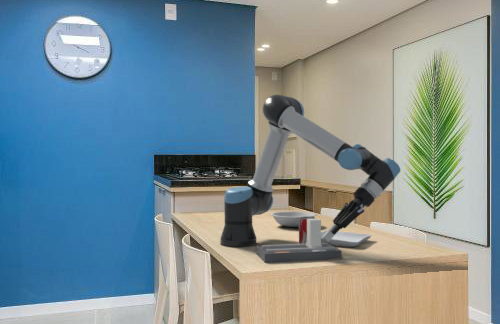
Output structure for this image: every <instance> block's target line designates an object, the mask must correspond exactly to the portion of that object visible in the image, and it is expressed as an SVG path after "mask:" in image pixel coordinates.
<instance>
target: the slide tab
mask: <svg viewBox="0 0 500 324" xmlns="http://www.w3.org/2000/svg"><path fill="white" fill-rule="evenodd" d="M321 232H322V220H321V219H320V218H315V219H307V243H306V246H307V247H309V248H316V247H322V245H321Z"/></svg>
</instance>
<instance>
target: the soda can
mask: <svg viewBox="0 0 500 324" xmlns="http://www.w3.org/2000/svg"><path fill="white" fill-rule="evenodd" d="M315 217H316V216H315ZM315 217H308V216H306V217H301V219H300V221H299V227H298V244H306V243H307V219H316V218H315Z"/></svg>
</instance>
